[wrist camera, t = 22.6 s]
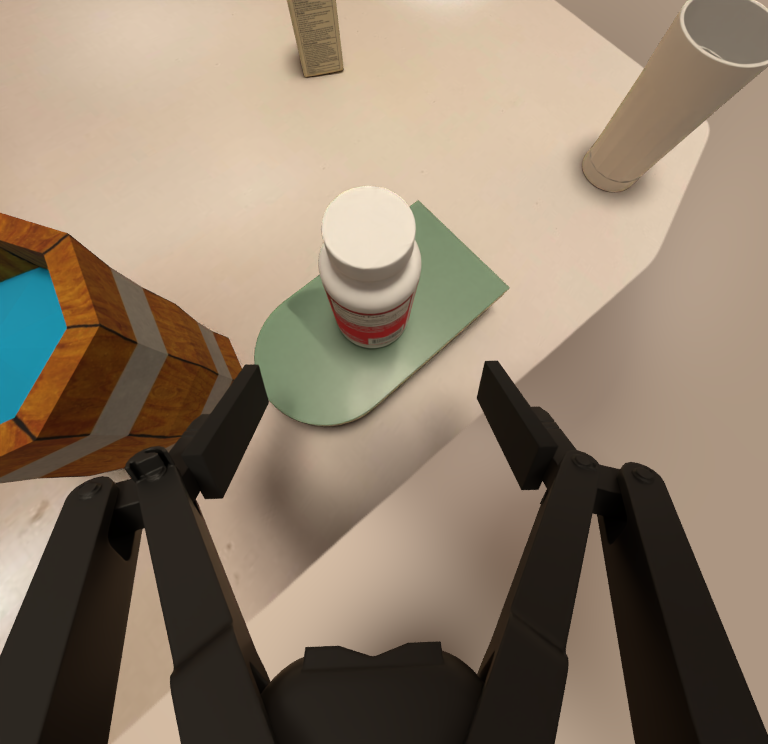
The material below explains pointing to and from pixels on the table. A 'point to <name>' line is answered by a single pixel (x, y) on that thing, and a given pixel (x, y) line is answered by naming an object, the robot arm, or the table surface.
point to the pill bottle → (370, 264)
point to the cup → (680, 87)
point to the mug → (93, 360)
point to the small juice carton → (317, 35)
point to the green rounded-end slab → (370, 365)
